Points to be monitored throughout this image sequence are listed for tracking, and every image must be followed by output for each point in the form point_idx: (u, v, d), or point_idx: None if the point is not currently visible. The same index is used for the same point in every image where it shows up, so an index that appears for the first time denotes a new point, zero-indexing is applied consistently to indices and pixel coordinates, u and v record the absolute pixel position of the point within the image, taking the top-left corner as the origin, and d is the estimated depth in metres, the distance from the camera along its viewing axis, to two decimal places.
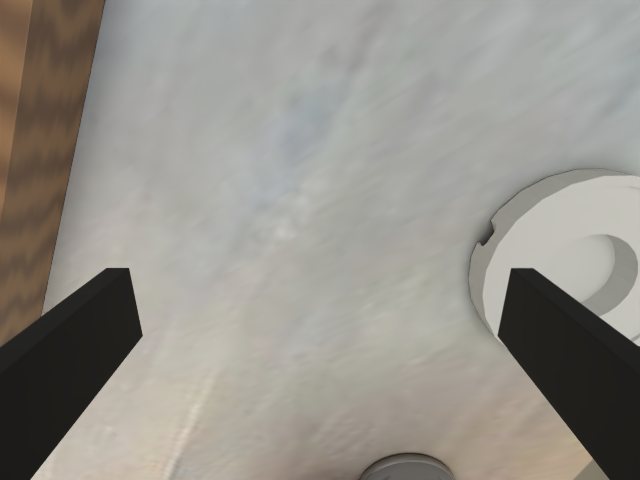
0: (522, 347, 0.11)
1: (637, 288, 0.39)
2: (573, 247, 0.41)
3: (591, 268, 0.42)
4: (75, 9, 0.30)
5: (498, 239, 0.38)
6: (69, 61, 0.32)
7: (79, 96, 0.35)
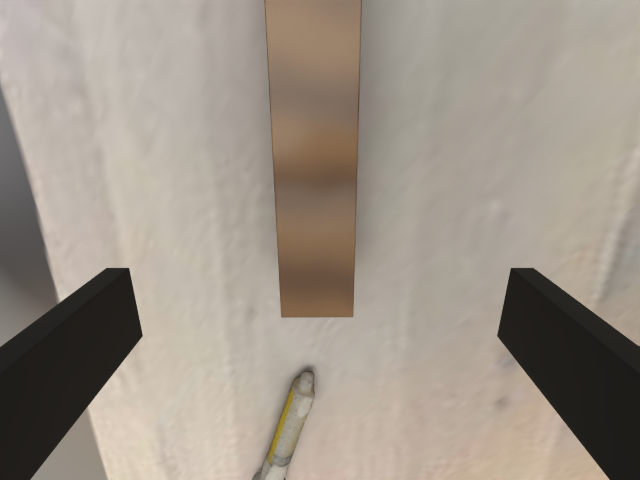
0: (522, 347, 0.11)
1: None
2: None
3: None
4: None
5: None
6: None
7: None
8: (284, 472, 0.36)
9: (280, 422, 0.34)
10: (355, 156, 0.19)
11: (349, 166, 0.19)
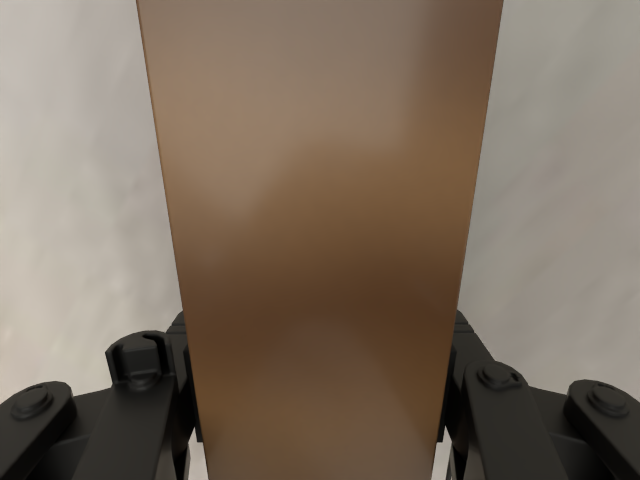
0: None
1: None
2: None
3: None
4: None
5: None
6: None
7: None
8: None
9: None
10: (466, 209, 0.05)
11: (441, 243, 0.05)
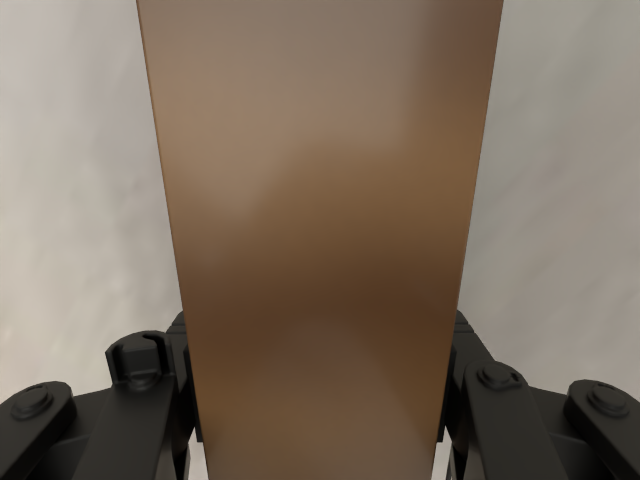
0: None
1: None
2: None
3: None
4: None
5: None
6: None
7: None
8: None
9: None
10: (466, 209, 0.05)
11: (441, 243, 0.05)
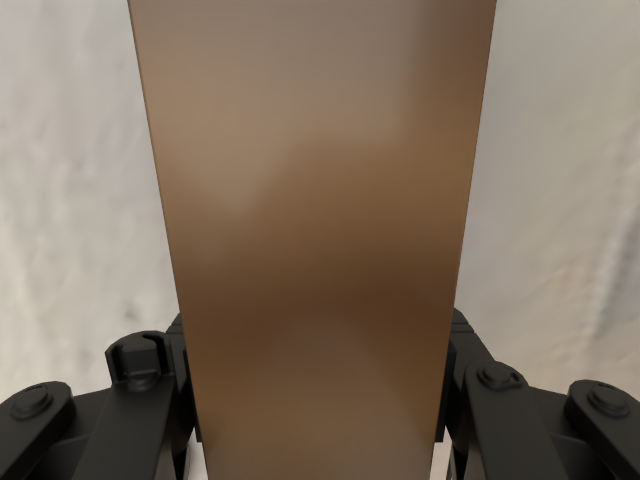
0: None
1: None
2: None
3: None
4: None
5: None
6: None
7: None
8: None
9: None
10: (461, 207, 0.05)
11: (437, 241, 0.05)
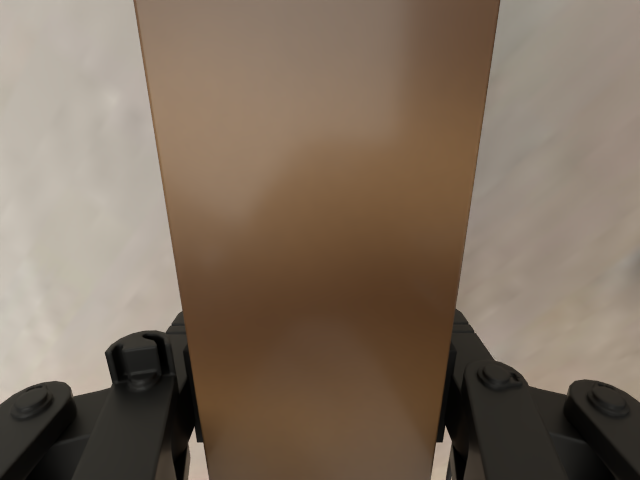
0: None
1: None
2: None
3: None
4: None
5: None
6: None
7: None
8: None
9: None
10: (464, 207, 0.05)
11: (439, 241, 0.05)
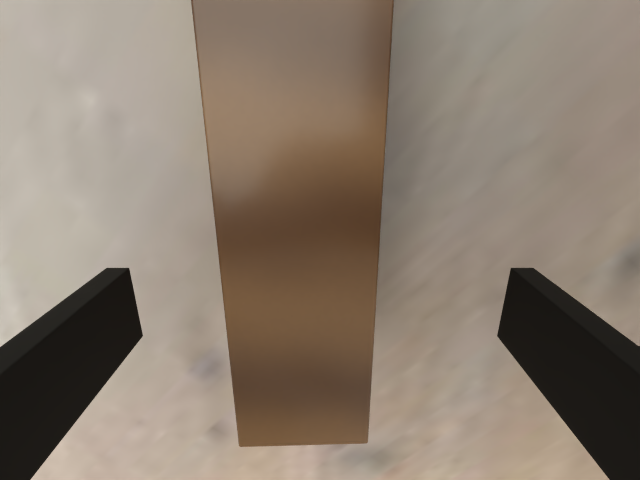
0: (522, 347, 0.11)
1: None
2: None
3: None
4: None
5: None
6: None
7: None
8: None
9: None
10: (380, 157, 0.09)
11: (368, 178, 0.09)
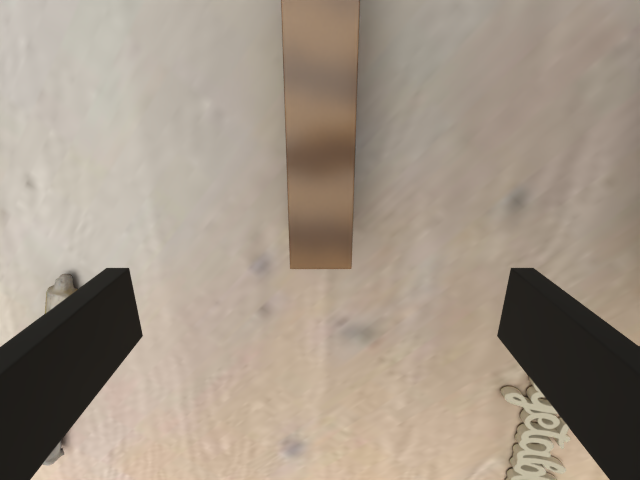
0: (522, 347, 0.11)
1: None
2: None
3: None
4: None
5: None
6: None
7: None
8: None
9: None
10: (354, 128, 0.23)
11: (349, 137, 0.23)
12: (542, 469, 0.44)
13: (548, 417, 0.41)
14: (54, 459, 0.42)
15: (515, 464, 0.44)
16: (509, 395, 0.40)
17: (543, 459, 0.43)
